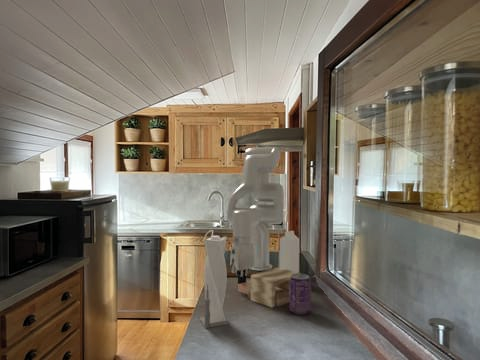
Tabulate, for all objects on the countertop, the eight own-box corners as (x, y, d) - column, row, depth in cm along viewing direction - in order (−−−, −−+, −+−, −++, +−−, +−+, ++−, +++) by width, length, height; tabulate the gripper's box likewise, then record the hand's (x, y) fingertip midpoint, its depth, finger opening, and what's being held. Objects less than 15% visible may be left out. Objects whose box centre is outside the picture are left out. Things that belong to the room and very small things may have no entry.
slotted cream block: (245, 298, 127) (245, 273, 127) (271, 288, 138) (271, 266, 138) (274, 308, 117) (274, 281, 117) (300, 297, 128) (300, 272, 128)
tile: (237, 291, 135) (237, 284, 135) (250, 287, 140) (250, 280, 140) (268, 302, 124) (268, 294, 124) (280, 297, 128) (280, 289, 128)
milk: (299, 282, 147) (299, 231, 147) (290, 285, 143) (290, 232, 142) (288, 279, 151) (288, 229, 151) (279, 282, 147) (279, 231, 147)
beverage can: (297, 306, 119) (297, 271, 119) (315, 311, 114) (315, 276, 114) (285, 311, 114) (285, 275, 114) (302, 317, 109) (302, 280, 109)
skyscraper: (198, 317, 109) (198, 230, 109) (222, 313, 112) (222, 228, 112) (205, 328, 102) (205, 234, 101) (230, 323, 105) (231, 232, 104)
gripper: (235, 244, 131) (235, 291, 131) (261, 239, 141) (261, 283, 142) (222, 241, 136) (222, 287, 136) (248, 237, 147) (247, 279, 147)
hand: (241, 285), depth 139 cm, fingers closed
